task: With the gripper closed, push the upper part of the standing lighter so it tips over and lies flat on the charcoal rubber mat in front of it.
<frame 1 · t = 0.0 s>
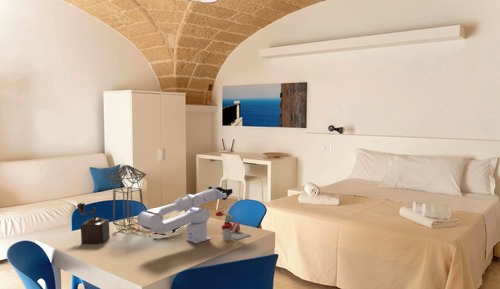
hand: (226, 190, 209), 22 cm above the table, tool horizontal, fingers open, 7 cm apart
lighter: (230, 240, 196), on the table
geometric lantern: (128, 230, 213), on the table
red flower sprig: (228, 230, 212), on the table, touching mat
coffee grinder: (91, 240, 197), on the table
mat: (236, 235, 202), on the table
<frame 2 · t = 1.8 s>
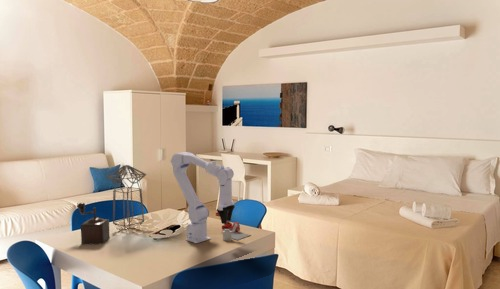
hand: (226, 222, 189), 10 cm above the table, tool pointing down, fingers open, 5 cm apart
nothing on the table moved.
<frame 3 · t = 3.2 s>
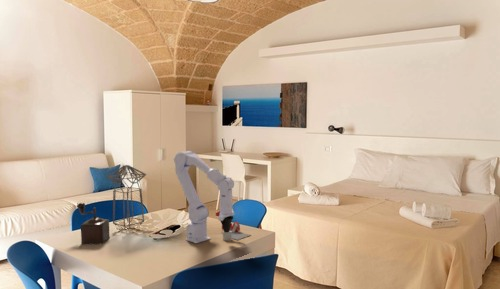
hand: (226, 231, 191), 5 cm above the table, tool pointing down, fingers closed
nothing on the table moved.
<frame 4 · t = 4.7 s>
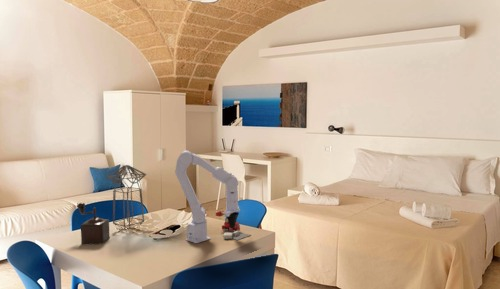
hand: (232, 227, 198), 5 cm above the table, tool pointing down, fingers closed
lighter: (230, 237, 196), point 1 cm above the table, touching mat
everything else where it was.
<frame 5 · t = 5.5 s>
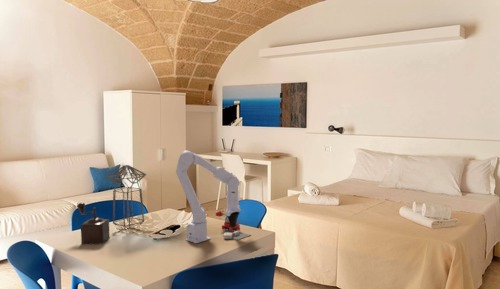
hand: (233, 226, 199), 5 cm above the table, tool pointing down, fingers closed
nothing on the table moved.
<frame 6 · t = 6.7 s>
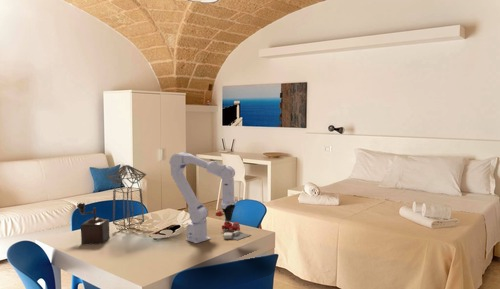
hand: (228, 220, 192), 10 cm above the table, tool pointing down, fingers closed
nothing on the table moved.
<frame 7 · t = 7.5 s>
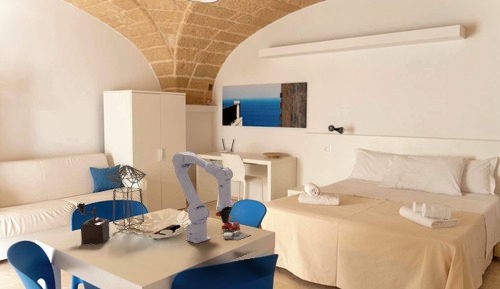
hand: (225, 222, 188), 10 cm above the table, tool pointing down, fingers closed
nothing on the table moved.
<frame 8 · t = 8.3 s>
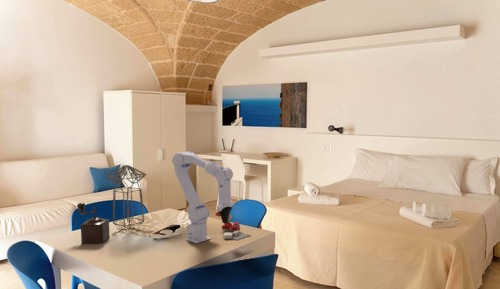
hand: (225, 222, 188), 10 cm above the table, tool pointing down, fingers closed
nothing on the table moved.
at the end: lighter tilted 90°; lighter touching mat; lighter moved 1.3 cm from its start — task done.
